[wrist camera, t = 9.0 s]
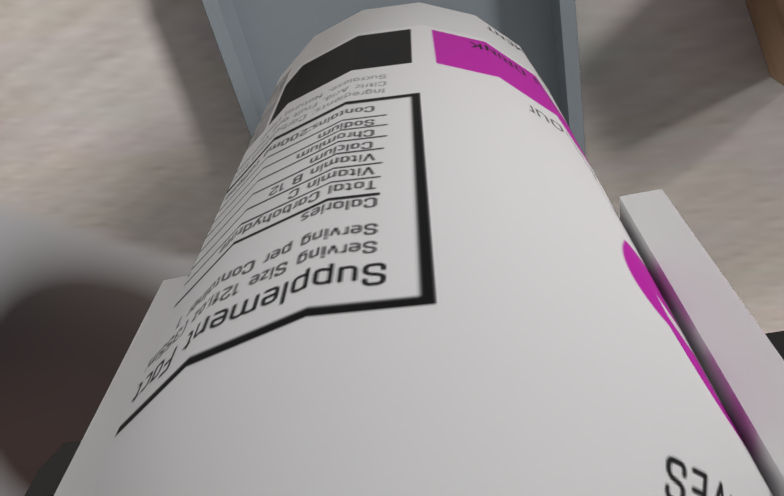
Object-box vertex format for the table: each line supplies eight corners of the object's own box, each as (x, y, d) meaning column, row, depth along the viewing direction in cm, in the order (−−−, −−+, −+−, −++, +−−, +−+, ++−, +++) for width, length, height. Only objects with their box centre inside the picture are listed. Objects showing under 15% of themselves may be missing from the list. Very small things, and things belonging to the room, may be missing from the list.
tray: (201, -63, 23) (182, -52, 21) (549, -150, 21) (565, -148, 19) (301, 227, 29) (294, 256, 27) (575, 175, 28) (589, 202, 26)
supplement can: (574, 3, 17) (1054, 504, 5) (525, 264, 22) (702, 880, 9) (261, -13, 17) (-122, 462, 4) (277, 254, 22) (107, 865, 9)
